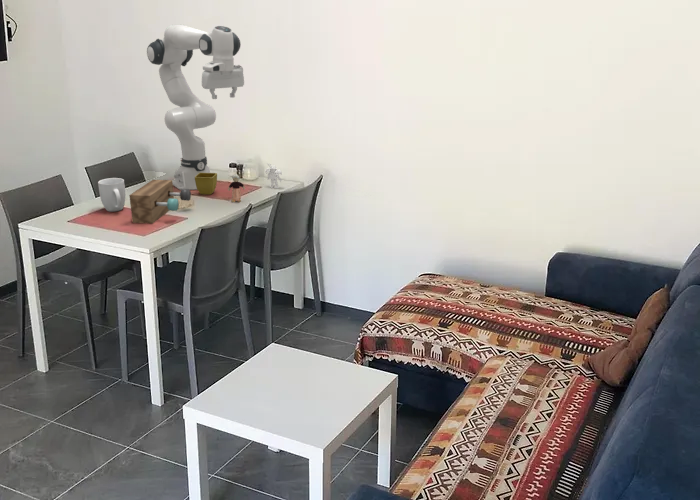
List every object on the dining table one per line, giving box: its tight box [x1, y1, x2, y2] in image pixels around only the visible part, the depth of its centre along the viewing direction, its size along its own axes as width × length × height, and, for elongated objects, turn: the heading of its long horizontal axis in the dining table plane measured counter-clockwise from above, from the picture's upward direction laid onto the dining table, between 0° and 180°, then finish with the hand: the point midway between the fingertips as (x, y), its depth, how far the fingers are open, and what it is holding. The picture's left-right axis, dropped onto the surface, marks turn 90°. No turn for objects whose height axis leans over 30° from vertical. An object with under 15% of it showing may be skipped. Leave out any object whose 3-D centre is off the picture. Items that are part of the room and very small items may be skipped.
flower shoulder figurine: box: [264, 163, 283, 189], centre depth 365 cm, size 9×4×12 cm, turn 61°
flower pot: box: [195, 172, 218, 195], centre depth 357 cm, size 9×9×9 cm
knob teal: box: [156, 198, 179, 211], centre depth 318 cm, size 8×5×5 cm, turn 81°
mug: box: [97, 177, 126, 212], centre depth 332 cm, size 15×11×13 cm
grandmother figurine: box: [227, 173, 246, 203], centre depth 344 cm, size 8×4×13 cm, turn 112°
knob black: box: [170, 189, 192, 202], centre depth 332 cm, size 8×5×5 cm, turn 82°
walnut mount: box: [129, 179, 175, 224], centre depth 327 cm, size 9×25×12 cm, turn 171°
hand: (223, 98), depth 331 cm, fingers open, 8 cm apart
